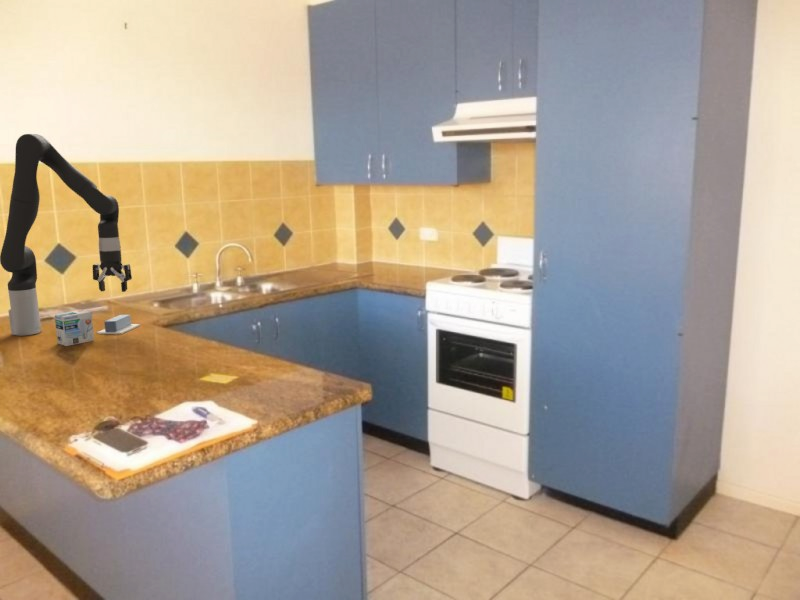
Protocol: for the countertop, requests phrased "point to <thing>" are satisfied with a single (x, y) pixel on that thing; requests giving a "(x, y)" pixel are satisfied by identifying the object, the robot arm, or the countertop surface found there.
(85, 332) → the light bulb box
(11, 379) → the countertop surface
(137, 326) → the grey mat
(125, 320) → the blue post
